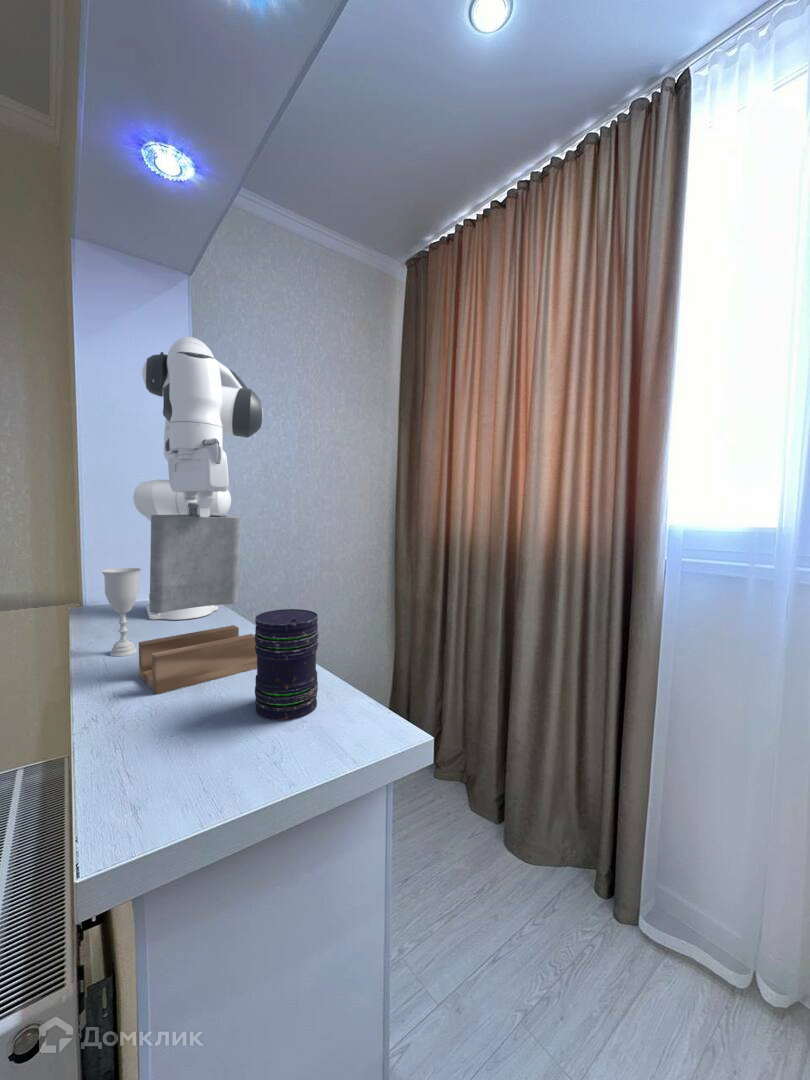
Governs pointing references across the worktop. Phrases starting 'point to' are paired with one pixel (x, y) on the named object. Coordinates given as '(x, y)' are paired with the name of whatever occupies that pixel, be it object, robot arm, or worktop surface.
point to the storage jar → (286, 664)
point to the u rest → (195, 657)
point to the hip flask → (194, 560)
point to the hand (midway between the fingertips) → (198, 516)
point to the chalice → (122, 602)
